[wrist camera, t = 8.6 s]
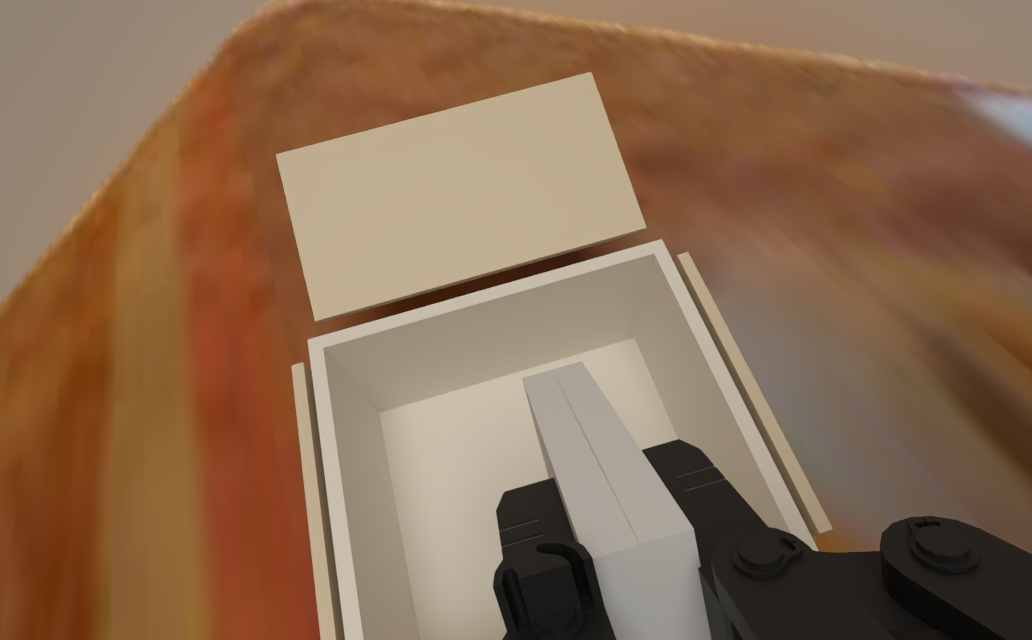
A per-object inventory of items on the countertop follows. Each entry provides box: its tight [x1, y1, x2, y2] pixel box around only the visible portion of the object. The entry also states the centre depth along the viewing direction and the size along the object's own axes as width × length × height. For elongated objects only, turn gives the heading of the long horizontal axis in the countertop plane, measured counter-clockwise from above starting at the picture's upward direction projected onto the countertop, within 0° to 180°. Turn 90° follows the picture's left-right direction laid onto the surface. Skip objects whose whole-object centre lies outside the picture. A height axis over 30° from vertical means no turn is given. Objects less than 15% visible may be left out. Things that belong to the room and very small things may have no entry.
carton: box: [292, 239, 833, 640], centre depth 26 cm, size 18×15×9 cm
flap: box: [276, 72, 646, 323], centre depth 26 cm, size 15×1×8 cm
